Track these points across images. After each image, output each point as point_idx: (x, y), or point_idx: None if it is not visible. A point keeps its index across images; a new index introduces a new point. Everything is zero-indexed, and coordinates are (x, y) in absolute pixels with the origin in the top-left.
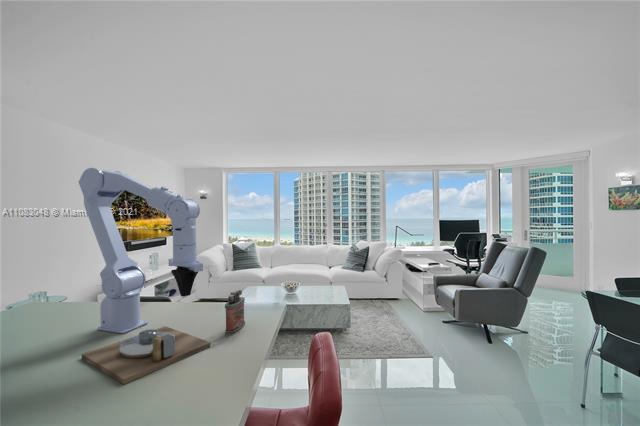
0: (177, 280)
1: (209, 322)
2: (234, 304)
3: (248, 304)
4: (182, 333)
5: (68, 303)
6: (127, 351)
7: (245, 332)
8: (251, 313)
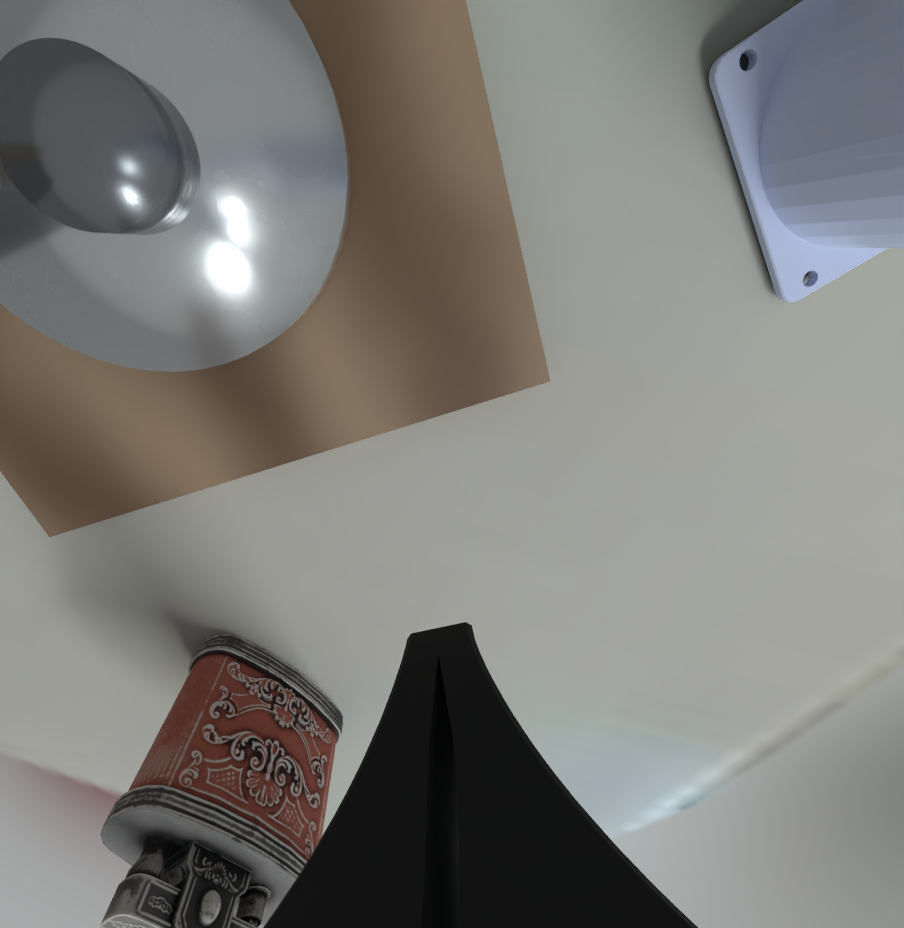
0: (489, 799)
1: (474, 618)
2: (125, 854)
3: (604, 830)
4: (312, 442)
5: None
6: None
7: None
8: None
